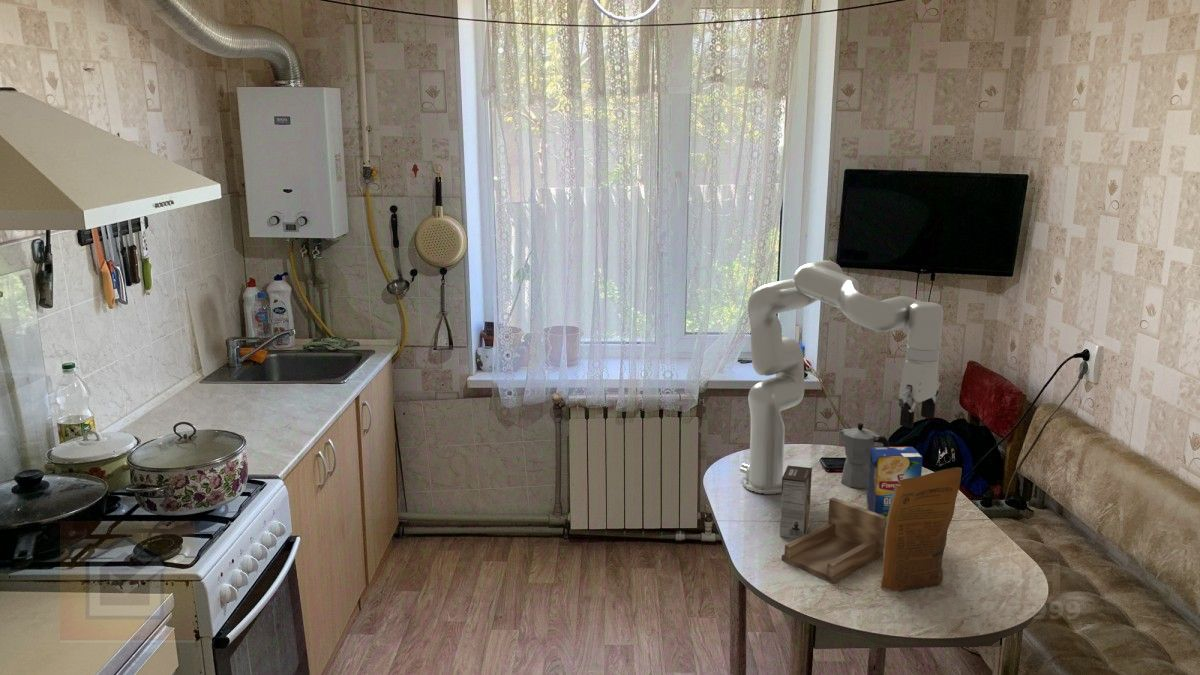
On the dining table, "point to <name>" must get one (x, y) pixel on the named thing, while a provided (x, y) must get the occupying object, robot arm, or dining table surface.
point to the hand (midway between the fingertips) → (917, 422)
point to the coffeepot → (858, 455)
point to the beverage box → (889, 474)
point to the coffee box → (795, 501)
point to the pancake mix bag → (919, 530)
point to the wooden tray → (839, 542)
